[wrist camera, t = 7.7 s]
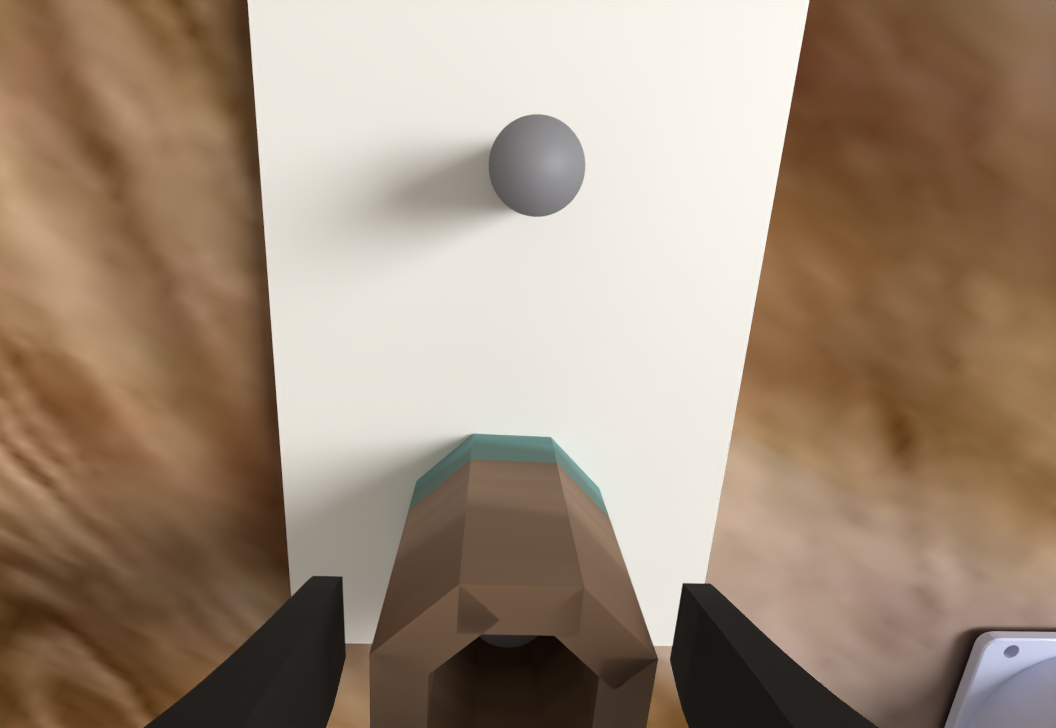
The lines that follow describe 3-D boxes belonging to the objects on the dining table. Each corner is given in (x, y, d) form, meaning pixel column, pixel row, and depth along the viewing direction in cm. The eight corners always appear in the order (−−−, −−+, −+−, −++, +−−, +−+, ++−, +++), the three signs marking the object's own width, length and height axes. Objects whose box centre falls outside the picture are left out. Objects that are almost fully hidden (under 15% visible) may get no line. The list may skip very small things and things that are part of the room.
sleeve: (604, 439, 15) (670, 589, 10) (585, 594, 17) (633, 805, 11) (416, 430, 15) (368, 582, 9) (414, 590, 16) (370, 806, 11)
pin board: (791, -13, 13) (958, -126, 8) (682, 622, 19) (748, 773, 14) (261, -62, 12) (114, -216, 8) (305, 618, 18) (234, 777, 13)
